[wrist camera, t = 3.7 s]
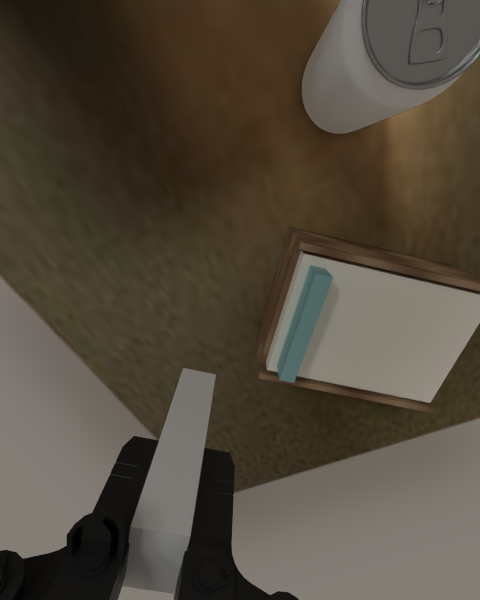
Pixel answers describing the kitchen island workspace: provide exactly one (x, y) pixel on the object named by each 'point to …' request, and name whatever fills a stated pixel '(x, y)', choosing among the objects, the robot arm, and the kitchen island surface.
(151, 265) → the kitchen island surface
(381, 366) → the lid
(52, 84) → the kitchen island surface
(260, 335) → the box
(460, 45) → the can
